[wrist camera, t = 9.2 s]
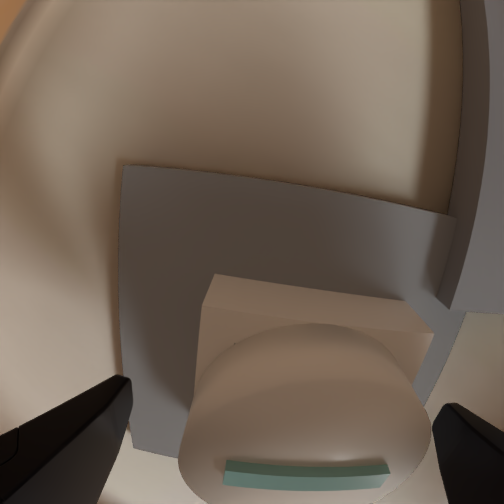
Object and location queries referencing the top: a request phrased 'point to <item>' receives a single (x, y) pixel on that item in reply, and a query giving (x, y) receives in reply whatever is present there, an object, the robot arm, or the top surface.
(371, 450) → the cream domed square block
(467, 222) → the plinth
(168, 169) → the mat
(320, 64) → the top surface
